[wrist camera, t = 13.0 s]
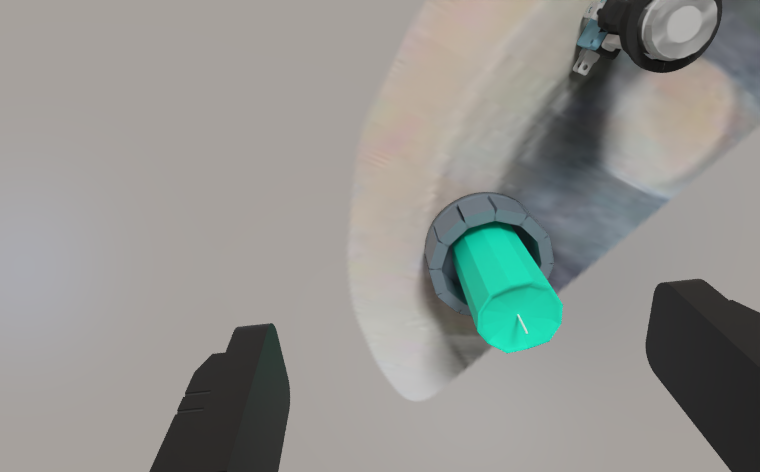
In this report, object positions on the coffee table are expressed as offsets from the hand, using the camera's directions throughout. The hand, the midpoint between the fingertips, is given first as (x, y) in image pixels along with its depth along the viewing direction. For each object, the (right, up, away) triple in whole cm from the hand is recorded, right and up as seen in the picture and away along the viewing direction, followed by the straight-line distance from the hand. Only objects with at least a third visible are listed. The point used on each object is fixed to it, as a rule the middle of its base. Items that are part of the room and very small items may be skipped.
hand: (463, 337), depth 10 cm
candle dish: (+7, +1, +33) cm, 34 cm away
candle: (+7, +1, +32) cm, 33 cm away
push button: (+14, +18, +26) cm, 34 cm away
